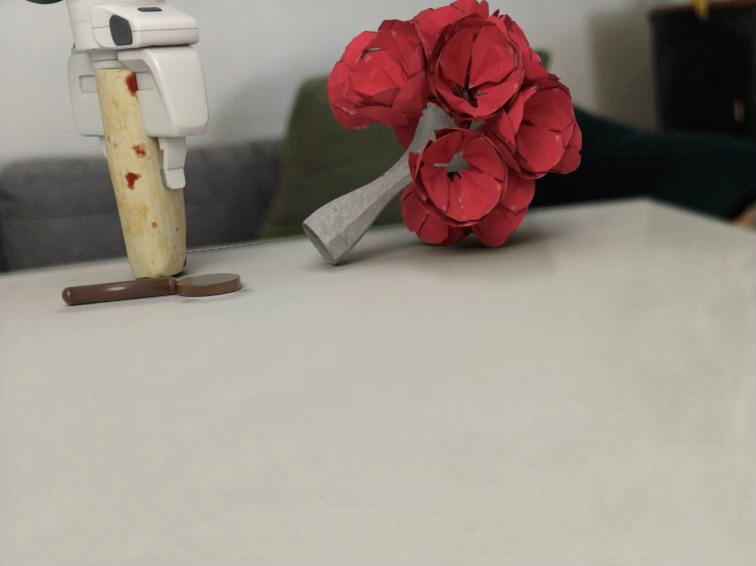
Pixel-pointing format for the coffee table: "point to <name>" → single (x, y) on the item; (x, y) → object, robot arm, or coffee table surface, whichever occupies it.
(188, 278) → the spoon
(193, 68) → the robot arm
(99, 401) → the coffee table surface
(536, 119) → the bouquet
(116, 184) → the food model
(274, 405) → the coffee table surface
